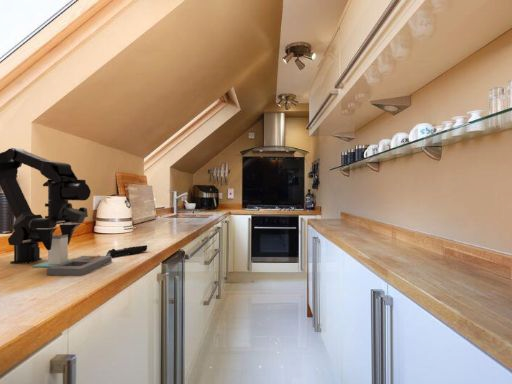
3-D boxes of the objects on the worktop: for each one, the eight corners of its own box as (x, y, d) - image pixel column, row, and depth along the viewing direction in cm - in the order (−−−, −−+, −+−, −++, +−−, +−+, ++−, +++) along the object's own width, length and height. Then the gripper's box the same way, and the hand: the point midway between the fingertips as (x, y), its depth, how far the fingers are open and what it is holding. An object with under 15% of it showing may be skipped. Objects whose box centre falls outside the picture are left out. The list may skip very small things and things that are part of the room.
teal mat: (32, 267, 100) (32, 265, 100) (53, 260, 110) (53, 259, 110) (63, 267, 99) (63, 266, 99) (81, 260, 109) (81, 259, 109)
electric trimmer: (149, 253, 125) (149, 245, 125) (109, 258, 114) (109, 250, 114) (144, 252, 128) (144, 244, 128) (105, 257, 116) (105, 248, 116)
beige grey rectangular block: (47, 263, 102) (47, 236, 102) (56, 261, 107) (56, 234, 107) (60, 263, 102) (60, 236, 102) (67, 261, 106) (68, 234, 106)
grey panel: (46, 275, 90) (46, 266, 90) (82, 261, 108) (82, 254, 108) (81, 275, 90) (81, 267, 90) (111, 261, 108) (111, 254, 108)
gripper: (64, 201, 95) (64, 252, 95) (97, 199, 114) (97, 242, 114) (28, 201, 95) (28, 252, 95) (66, 199, 114) (66, 242, 114)
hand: (58, 247), depth 104 cm, fingers open, 9 cm apart
